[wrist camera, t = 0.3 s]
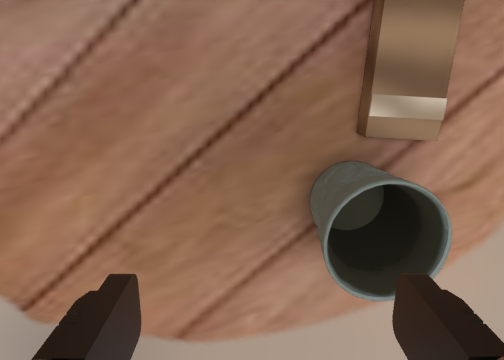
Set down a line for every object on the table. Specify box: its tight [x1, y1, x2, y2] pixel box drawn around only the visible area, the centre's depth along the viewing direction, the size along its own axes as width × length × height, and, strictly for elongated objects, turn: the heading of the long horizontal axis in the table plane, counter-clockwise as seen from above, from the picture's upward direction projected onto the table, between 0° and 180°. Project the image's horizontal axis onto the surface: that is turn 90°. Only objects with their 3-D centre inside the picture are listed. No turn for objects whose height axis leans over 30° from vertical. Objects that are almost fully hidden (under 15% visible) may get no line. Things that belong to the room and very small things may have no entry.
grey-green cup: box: [310, 161, 452, 301], centre depth 35 cm, size 10×10×12 cm
